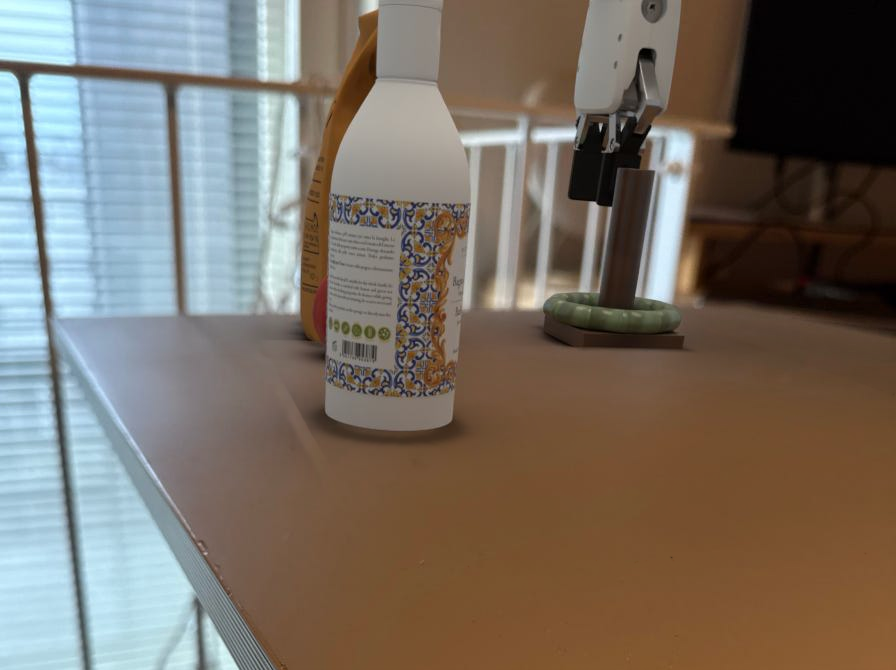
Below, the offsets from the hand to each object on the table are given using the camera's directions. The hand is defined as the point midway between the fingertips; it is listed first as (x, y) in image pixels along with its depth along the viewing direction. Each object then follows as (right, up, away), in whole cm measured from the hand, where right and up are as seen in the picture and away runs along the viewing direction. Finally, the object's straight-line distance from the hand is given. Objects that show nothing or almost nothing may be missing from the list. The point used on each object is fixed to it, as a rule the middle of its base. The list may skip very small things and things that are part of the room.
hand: (598, 201), depth 84 cm
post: (+1, -13, -1) cm, 13 cm away
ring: (+1, -10, -1) cm, 10 cm away
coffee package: (-20, -14, -7) cm, 26 cm away
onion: (-20, -20, -18) cm, 34 cm away
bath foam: (-17, -27, -31) cm, 45 cm away
